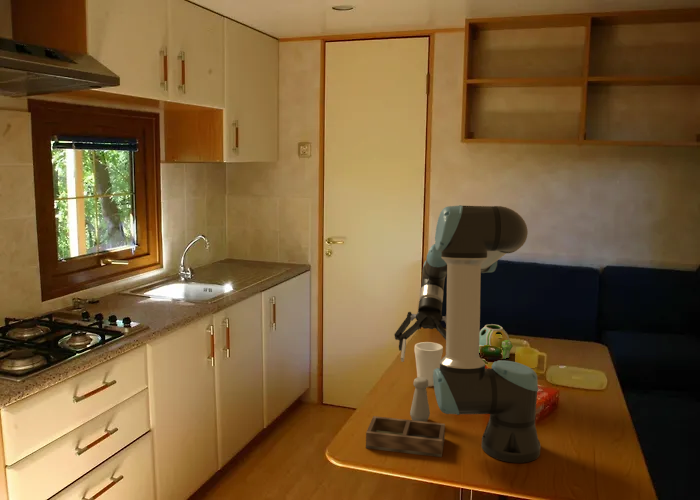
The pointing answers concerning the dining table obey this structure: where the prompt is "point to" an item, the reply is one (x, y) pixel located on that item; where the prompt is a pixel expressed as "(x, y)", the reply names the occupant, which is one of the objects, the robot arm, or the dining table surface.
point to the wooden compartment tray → (406, 436)
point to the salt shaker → (420, 401)
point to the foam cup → (427, 359)
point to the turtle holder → (495, 338)
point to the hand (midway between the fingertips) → (424, 361)
